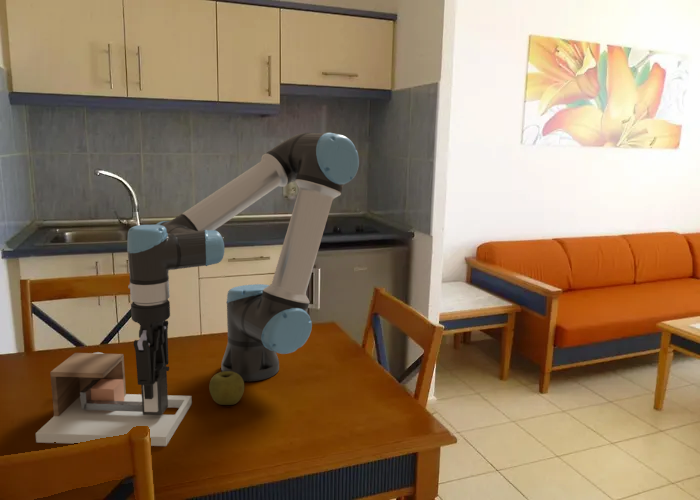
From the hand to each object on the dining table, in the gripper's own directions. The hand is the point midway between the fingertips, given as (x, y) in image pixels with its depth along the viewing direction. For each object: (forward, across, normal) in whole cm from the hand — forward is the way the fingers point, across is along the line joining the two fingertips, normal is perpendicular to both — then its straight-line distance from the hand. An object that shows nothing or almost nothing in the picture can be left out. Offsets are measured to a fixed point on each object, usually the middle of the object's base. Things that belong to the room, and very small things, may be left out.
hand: (155, 405), depth 119 cm
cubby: (+2, -4, -16) cm, 16 cm away
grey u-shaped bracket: (+1, -2, -7) cm, 7 cm away
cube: (+2, -4, -12) cm, 13 cm away
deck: (+4, 0, -8) cm, 9 cm away
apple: (+5, -11, +13) cm, 17 cm away
